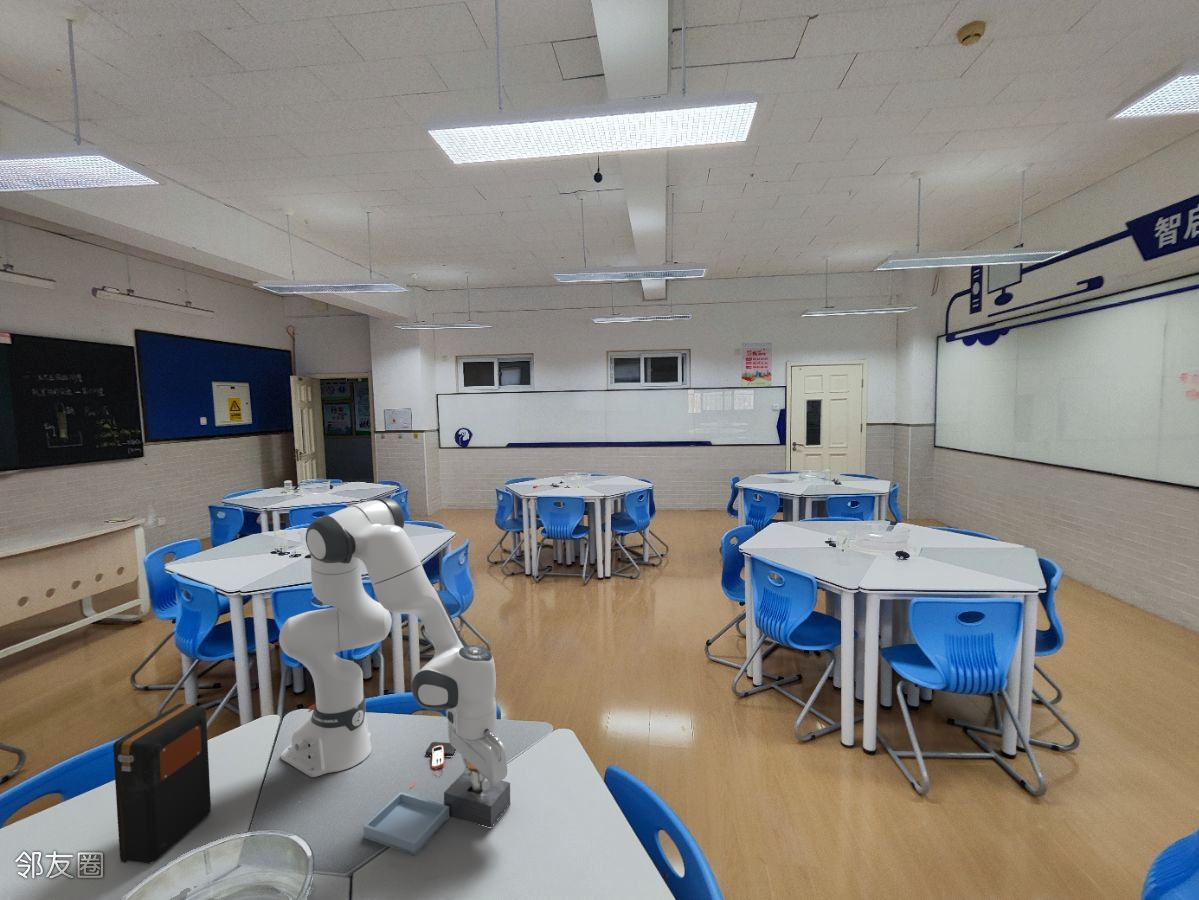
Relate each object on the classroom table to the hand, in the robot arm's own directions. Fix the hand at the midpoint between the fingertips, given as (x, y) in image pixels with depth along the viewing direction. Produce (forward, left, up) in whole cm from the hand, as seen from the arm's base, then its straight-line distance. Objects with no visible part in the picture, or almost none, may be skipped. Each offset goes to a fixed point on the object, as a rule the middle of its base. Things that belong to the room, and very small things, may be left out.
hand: (477, 780), depth 122 cm
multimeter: (-17, +9, -7) cm, 21 cm away
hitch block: (0, 0, -7) cm, 7 cm away
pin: (0, 0, -7) cm, 7 cm away
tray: (-11, -10, -7) cm, 16 cm away
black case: (-56, -30, -7) cm, 64 cm away
